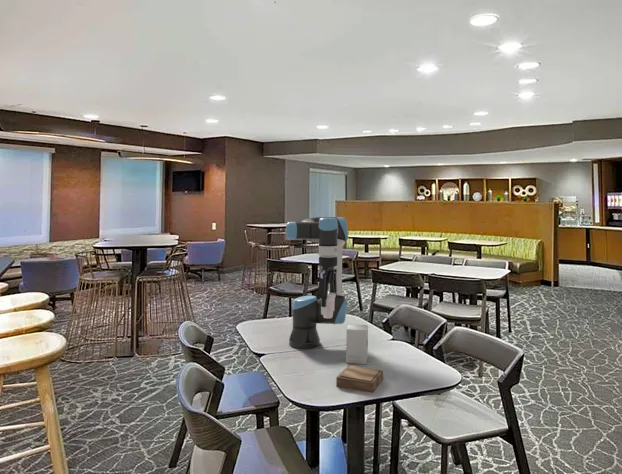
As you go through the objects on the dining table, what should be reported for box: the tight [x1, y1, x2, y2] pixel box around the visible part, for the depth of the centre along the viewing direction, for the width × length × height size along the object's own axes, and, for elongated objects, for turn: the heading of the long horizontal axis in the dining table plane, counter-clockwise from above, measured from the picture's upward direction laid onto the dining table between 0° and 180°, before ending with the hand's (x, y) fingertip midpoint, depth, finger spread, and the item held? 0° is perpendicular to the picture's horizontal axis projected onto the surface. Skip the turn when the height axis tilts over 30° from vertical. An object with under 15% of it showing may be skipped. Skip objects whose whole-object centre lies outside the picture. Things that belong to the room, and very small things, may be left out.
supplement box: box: [345, 323, 369, 365], centre depth 191 cm, size 9×9×15 cm
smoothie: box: [323, 283, 336, 318], centre depth 177 cm, size 6×6×14 cm
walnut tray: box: [335, 364, 384, 394], centre depth 167 cm, size 14×14×4 cm
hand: (327, 312), depth 177 cm, fingers closed on smoothie, 6 cm apart
